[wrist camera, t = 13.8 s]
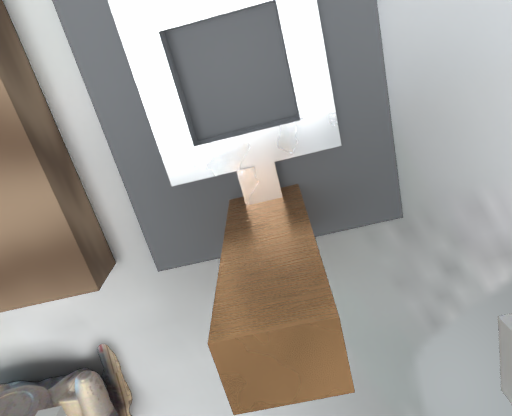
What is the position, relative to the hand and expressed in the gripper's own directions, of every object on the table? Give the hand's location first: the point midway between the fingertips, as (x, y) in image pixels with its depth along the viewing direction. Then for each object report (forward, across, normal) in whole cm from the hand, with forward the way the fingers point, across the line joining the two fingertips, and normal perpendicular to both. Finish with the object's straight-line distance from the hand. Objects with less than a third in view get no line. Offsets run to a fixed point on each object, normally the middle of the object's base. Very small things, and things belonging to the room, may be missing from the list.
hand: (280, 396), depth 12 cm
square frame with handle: (+12, 0, -6) cm, 14 cm away
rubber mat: (+13, 0, -7) cm, 15 cm away
